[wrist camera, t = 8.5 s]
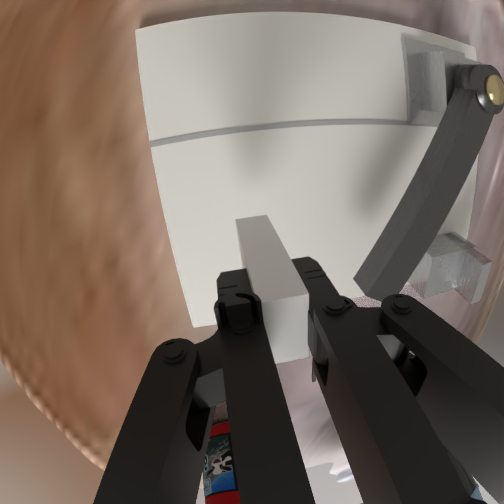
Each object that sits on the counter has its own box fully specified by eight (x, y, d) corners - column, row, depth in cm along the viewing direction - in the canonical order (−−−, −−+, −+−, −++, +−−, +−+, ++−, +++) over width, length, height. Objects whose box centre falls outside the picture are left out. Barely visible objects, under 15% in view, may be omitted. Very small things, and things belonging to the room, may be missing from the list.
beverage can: (204, 415, 29) (213, 517, 18) (265, 417, 30) (286, 512, 20) (196, 441, 31) (203, 528, 21) (249, 443, 33) (264, 525, 22)
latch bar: (462, 54, 12) (490, 54, 9) (487, 85, 13) (514, 88, 10) (348, 276, 17) (365, 300, 15) (381, 290, 18) (399, 312, 16)
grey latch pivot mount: (464, 127, 17) (492, 134, 14) (407, 122, 17) (435, 128, 14) (461, 53, 14) (489, 53, 12) (400, 37, 14) (429, 32, 11)
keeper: (447, 267, 23) (483, 299, 18) (404, 278, 22) (440, 316, 18) (454, 231, 21) (495, 260, 17) (410, 239, 21) (452, 274, 16)
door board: (453, 265, 24) (460, 270, 23) (193, 318, 22) (193, 328, 21) (466, 47, 15) (475, 47, 14) (138, 33, 13) (134, 29, 12)
